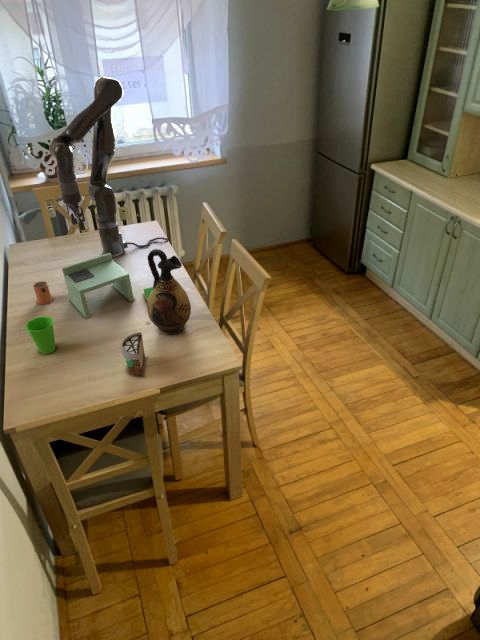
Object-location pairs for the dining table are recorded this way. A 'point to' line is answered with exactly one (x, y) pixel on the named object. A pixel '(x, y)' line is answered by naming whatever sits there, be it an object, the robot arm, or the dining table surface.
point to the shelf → (95, 279)
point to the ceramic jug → (167, 296)
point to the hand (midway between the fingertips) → (78, 226)
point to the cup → (42, 333)
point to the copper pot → (42, 292)
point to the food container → (134, 353)
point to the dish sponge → (147, 292)
